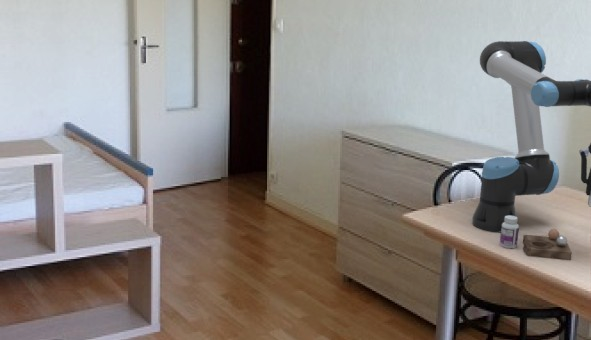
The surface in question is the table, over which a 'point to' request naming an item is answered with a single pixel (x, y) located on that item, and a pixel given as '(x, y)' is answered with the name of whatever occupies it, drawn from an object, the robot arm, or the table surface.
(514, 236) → the pill bottle
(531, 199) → the table surface
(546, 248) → the brown flat square slab
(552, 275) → the table surface
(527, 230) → the table surface
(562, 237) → the ball
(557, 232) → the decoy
